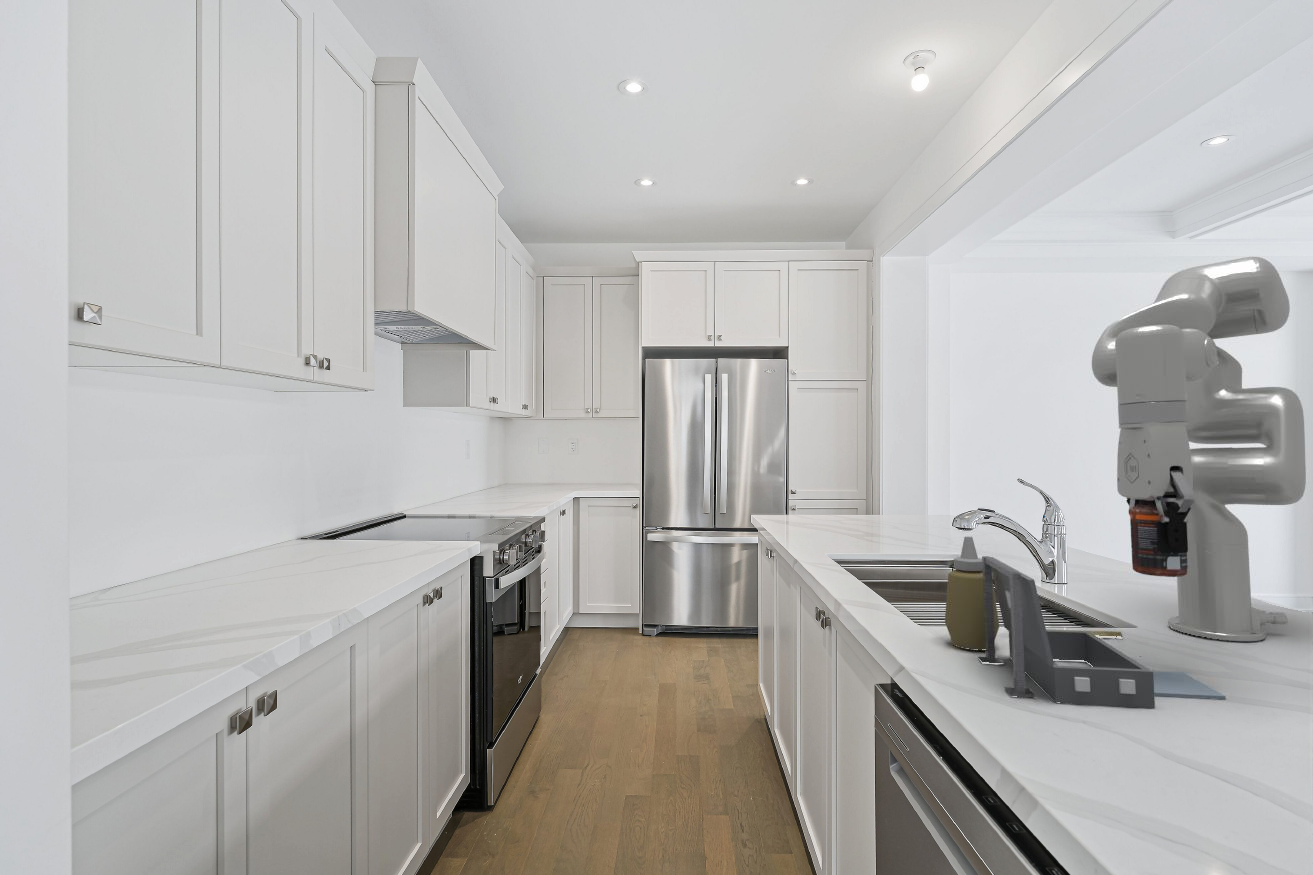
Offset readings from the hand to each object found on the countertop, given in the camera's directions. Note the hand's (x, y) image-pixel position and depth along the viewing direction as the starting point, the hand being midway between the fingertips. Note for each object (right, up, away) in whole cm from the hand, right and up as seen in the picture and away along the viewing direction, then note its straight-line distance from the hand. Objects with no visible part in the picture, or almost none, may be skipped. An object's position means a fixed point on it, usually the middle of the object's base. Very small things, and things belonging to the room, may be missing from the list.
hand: (1158, 547), depth 86 cm
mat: (0, -19, -1) cm, 19 cm away
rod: (+4, -18, +22) cm, 29 cm away
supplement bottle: (0, -4, 0) cm, 4 cm away
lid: (-17, -9, +4) cm, 19 cm away
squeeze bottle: (-16, -20, +18) cm, 31 cm away
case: (-10, -19, +2) cm, 22 cm away
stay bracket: (-19, -19, +4) cm, 27 cm away
